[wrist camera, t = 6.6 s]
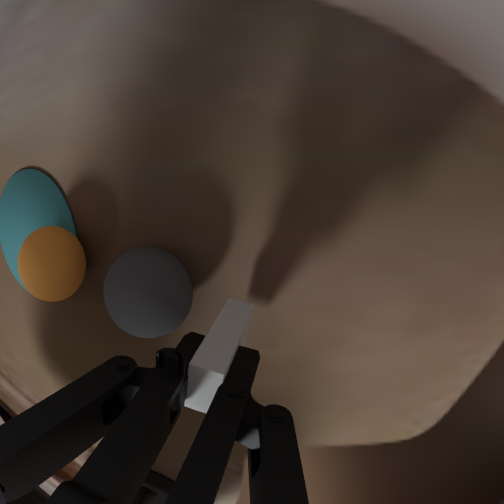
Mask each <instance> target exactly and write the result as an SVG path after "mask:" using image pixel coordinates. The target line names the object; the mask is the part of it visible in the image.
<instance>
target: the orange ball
mask: <svg viewBox="0 0 504 504" xmlns="http://www.w3.org/2000/svg"><path fill="white" fill-rule="evenodd" d="M85 271H86V257H85V253H84V250H83V247H82V245H81V243H80V242H79V240H78V239H77V238H76V237H75V235H73V234H72V233H71V232H70V231H68V230H66V229H64V228H62V227H59V226H44V227H41V228H39V229H37V230H35V231H33V232H32V233H31V234H30V235H29V236H28V237H27V238H26V239H25V241H24V242H23V244H22V246H21V248H20V251H19V255H18V272H19V276H20V279H21V281H22V283H23V285H24V286H25V288H26V289H27V290H28V291H29V292H30V293H31V294H32V295H33V296H35V297H36V298H38V299H40V300H43V301H48V302H57V301H61V300H64V299H66V298H68V297H70V296H71V295H72V294H74V293H75V292H76V291H77V289H78V288H79V287H80V285H81V283H82V281H83V279H84V276H85Z"/></svg>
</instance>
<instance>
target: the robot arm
mask: <svg viewBox="0 0 504 504" xmlns="http://www.w3.org/2000/svg"><path fill="white" fill-rule="evenodd" d="M253 307H254V304H251V303H247V302H243V301H240V300H236V299H233V298H229V299H228V301H227V302H226V304H225V306H224V307H223V309H222V310H221V312H220V314H219V315H218V317H217V319H216V320H215V322H214V324H213V325H212V327H211V328H210V330H209V332H208V333H207V335H206V336H204V335H201V334H198V333H195V332H190V333H188V334H186V335H185V336H184V337H183V338H182V340H181V341H180V342H179V344H178V345H177V347H176V348H175V349H174V348H163V349H160V350H159V351H157V352H156V367H155V368H144V367H138V366H137V364H136V361H135V360H133V359H132V358H130V357H128V356H123V355H121V356H115V357H113V358H111V359H109V360H108V361H106V362H104V363H103V364H101V365H100V366H98V367H96V368H95V369H93V370H91V371H90V372H88V373H87V374H85V375H83V376H82V377H80V378H78V379H77V380H75V381H74V382H72V383H70V384H69V385H67V386H65V387H64V388H62V389H60V390H59V391H57V392H55V393H54V394H52V395H51V396H49V397H47V398H46V399H44V400H42V401H41V402H39V403H37V404H36V405H34V406H32V407H31V408H29V409H27V410H26V411H24V412H22V413H21V414H19V415H17V416H16V417H14V418H12V419H11V420H9V421H7V422H6V423H4V424H2V425H1V426H0V504H213V503H214V500H215V497H216V495H217V492H218V489H219V486H220V483H221V480H222V477H223V474H224V471H225V469H226V466H227V463H228V460H229V457H230V454H231V451H232V448H233V445H234V442H235V440H236V441H237V442H239V443H241V444H242V445H244V446H246V447H248V468H249V486H250V487H249V488H250V504H309V502H308V497H307V491H306V487H305V480H304V475H303V470H302V464H301V459H300V454H299V448H298V443H297V438H296V433H295V427H294V422H293V417H292V415H291V412H290V411H289V410H288V409H287V408H285V407H283V406H280V405H275V404H274V405H268V406H265V407H264V406H262V405H260V404H259V403H257V402H256V401H255V400H254V399H253V397H252V396H251V387H252V384H253V381H254V377H255V374H256V370H257V367H258V363H259V360H260V355H259V352H258V350H254V349H250V348H247V347H243V346H244V344H245V341H246V337H247V332H248V328H249V324H250V320H251V316H252V312H253ZM184 401H185V404H184V406H185V407H188V408H191V409H194V410H197V411H200V412H203V413H206V415H205V418H204V420H203V422H202V424H201V427H200V429H199V431H198V433H197V435H196V437H195V440H194V442H193V444H192V446H191V448H190V450H189V453H188V455H187V457H186V459H185V461H184V463H183V466H182V468H181V470H180V472H179V474H178V476H177V478H176V480H175V483H174V482H172V481H171V480H169V479H167V478H165V477H163V476H161V475H159V474H157V473H155V472H152V471H150V469H151V467H152V465H153V464H154V462H155V460H156V458H157V456H158V454H159V453H160V451H161V449H162V447H163V445H164V443H165V441H166V440H167V438H168V436H169V434H170V432H171V430H172V428H173V427H174V425H175V423H176V421H177V419H178V417H179V415H180V413H181V406H182V404H183V402H184ZM102 437H103V439H102V440H101V441H100V443H99V444H98V446H97V447H96V448H95V450H94V451H93V452H92V454H91V455H90V456H89V458H88V459H87V461H86V462H85V463H84V465H83V466H82V467H81V469H80V470H79V472H78V473H77V474H76V476H75V477H74V478H73V479H72V480H71V481H64V482H62V483H61V484H60V485H59V486H58V487H57V488H56V490H55V491H54V492H53V494H52V495H51V496H50V495H49V494H47V493H46V492H45V491H44V490H43V489H41V488H40V487H39V485H40V484H41V483H43V482H44V481H46V480H47V479H48V478H50V477H51V476H52V475H54V474H55V473H56V472H58V471H59V470H60V469H62V468H63V467H64V466H66V465H67V464H68V463H70V462H71V461H72V460H74V459H75V458H76V457H78V456H79V455H80V454H82V453H83V452H84V451H86V450H87V449H88V448H89V447H91V446H92V445H93V444H95V443H96V442H97V441H98V440H100V439H101V438H102Z"/></svg>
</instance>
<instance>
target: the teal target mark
mask: <svg viewBox="0 0 504 504" xmlns="http://www.w3.org/2000/svg"><path fill="white" fill-rule="evenodd" d="M44 226H59V227H62V228H64V229H66V230H68V231H70V232H71V233H72V234H73V235H75V237H76V238H77V233H76V229H75V224H74V220H73V217H72V214H71V211H70V208H69V206H68V203H67V201H66V199H65V197H64V195H63V194H62V192H61V190H60V189H59V187H58V186H57V185H56V183H55V182H54V181H53V180H52V179H51V178H50V177H49V176H48V175H46V174H45V173H43V172H41V171H39V170H36V169H25V170H21V171H19V172H17V173H16V174H14V175H13V176H12V177H11V178H10V180H9V181H8V183H7V184H6V186H5V188H4V190H3V193H2V196H1V200H0V242H1V246H2V250H3V253H4V256H5V259H6V261H7V263H8V266H9V268H10V270H11V271H12V273H13V275H14V276H15V278H16V279H17V281H18V282H19V283H20V284H21V286H22V287H23V288H24V289H25V290H26V291H28V290H27V289H26V288H25V286H24V285H23V283H22V281H21V279H20V276H19V272H18V255H19V251H20V248H21V246H22V244H23V242H24V241H25V239H26V238H27V237H28V236H29V235H30V234H31V233H32V232H33V231H35V230H37V229H39V228H41V227H44ZM28 292H29V291H28ZM29 293H30V292H29ZM30 294H31V293H30ZM31 295H32V294H31Z"/></svg>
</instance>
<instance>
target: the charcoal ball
mask: <svg viewBox="0 0 504 504" xmlns="http://www.w3.org/2000/svg"><path fill="white" fill-rule="evenodd" d="M192 295H193V290H192V284H191V280H190V277H189V274H188V272H187V270H186V269H185V267H184V266H183V264H182V263H181V262H180V261H179V260H178V259H177V258H176V257H175V256H173V255H172V254H170V253H169V252H167V251H165V250H162V249H159V248H155V247H139V248H135V249H132V250H129V251H127V252H125V253H124V254H122V255H121V256H120V257H118V258H117V259H116V260H115V261H114V262H113V264H112V265H111V267H110V268H109V270H108V272H107V274H106V277H105V280H104V285H103V298H104V303H105V307H106V309H107V312H108V314H109V315H110V317H111V318H112V320H113V321H114V322H115V324H116V325H117V326H118V327H120V328H121V329H122V330H123V331H125V332H127V333H128V334H131V335H133V336H136V337H140V338H158V337H162V336H164V335H167V334H169V333H171V332H172V331H174V330H175V329H176V328H178V327H179V326H180V325H181V324H182V322H183V321H184V320H185V318H186V317H187V315H188V313H189V310H190V307H191V304H192Z"/></svg>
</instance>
